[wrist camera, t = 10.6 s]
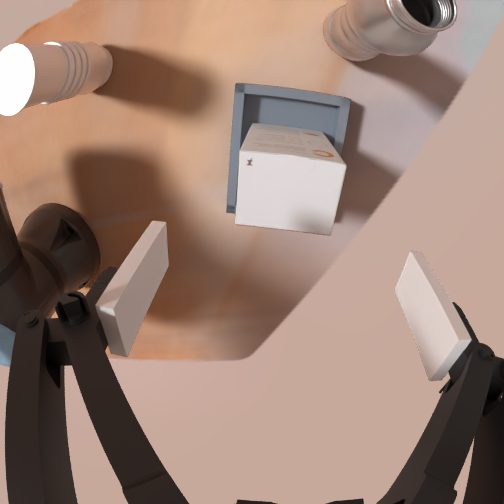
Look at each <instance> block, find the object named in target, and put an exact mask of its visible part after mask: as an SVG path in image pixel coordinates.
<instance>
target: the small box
mask: <svg viewBox="0 0 504 504" xmlns="http://www.w3.org/2000/svg"><path fill="white" fill-rule="evenodd" d="M346 169H347V165H346V164H345V162H344V161H343V160H342V158H341V157H340V155H339V154H338V152H337V151H336V150H335V148H334V147H333V146H332V144H331V143H330V141H329V140H328V139H327V137H326V136H325V135H324V133H323V132H322V131H316V130H310V129H303V128H296V127H289V126H280V125H272V124H262V123H252V125H251V127H250V129H249V131H248V133H247V136H246V138H245V140H244V142H243V144H242V147H241V149H240V151H239V169H238V187H237V203H236V218H235V224H236V225H244V226H253V227H262V228H271V229H280V230H288V231H296V232H305V233H313V234H321V235H329V236H330V235H331V232H332V228H333V224H334V220H335V216H336V212H337V208H338V204H339V200H340V196H341V191H342V187H343V183H344V178H345V174H346Z"/></svg>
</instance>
